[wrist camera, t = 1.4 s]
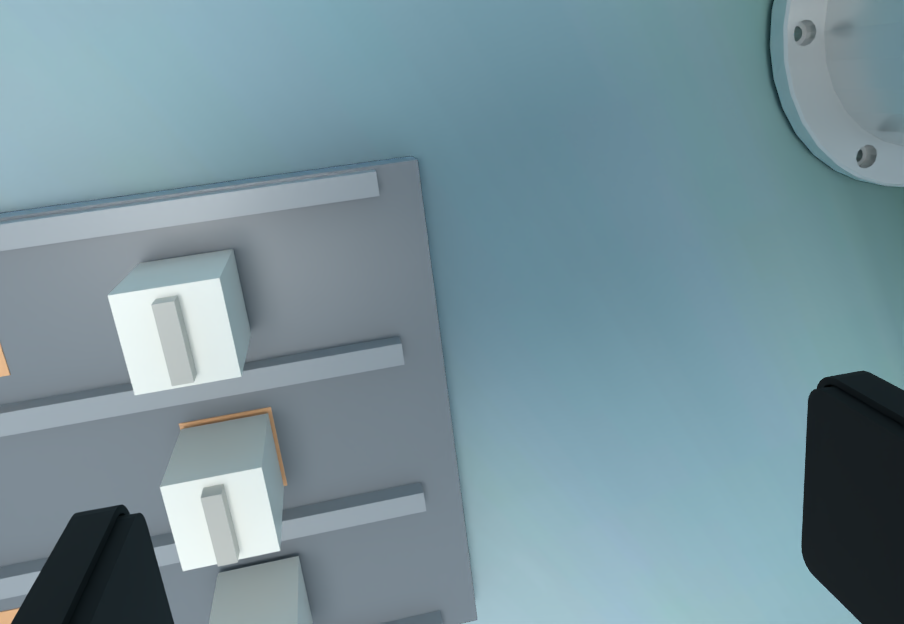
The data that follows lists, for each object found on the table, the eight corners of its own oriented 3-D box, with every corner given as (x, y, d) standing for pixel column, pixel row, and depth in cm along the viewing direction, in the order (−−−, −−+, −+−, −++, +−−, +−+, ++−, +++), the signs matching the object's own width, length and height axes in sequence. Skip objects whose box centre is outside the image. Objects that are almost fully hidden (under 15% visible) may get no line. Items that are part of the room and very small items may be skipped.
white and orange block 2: (268, 413, 26) (260, 476, 22) (284, 486, 27) (279, 562, 23) (181, 429, 26) (155, 497, 22) (200, 503, 27) (179, 583, 22)
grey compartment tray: (411, 155, 26) (424, 164, 24) (469, 596, 32) (485, 645, 29) (-206, 242, 24) (-276, 262, 21) (-20, 707, 30) (-55, 772, 27)
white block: (232, 248, 24) (216, 283, 20) (251, 333, 25) (239, 384, 21) (138, 262, 24) (101, 301, 20) (160, 349, 25) (129, 404, 21)
